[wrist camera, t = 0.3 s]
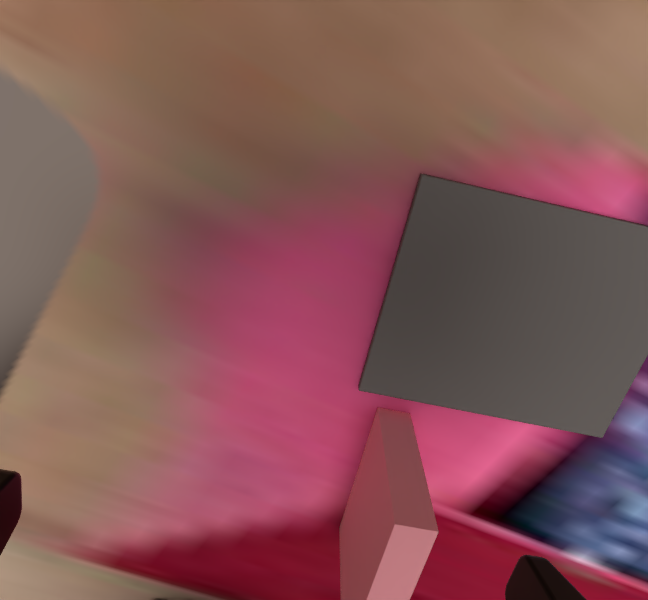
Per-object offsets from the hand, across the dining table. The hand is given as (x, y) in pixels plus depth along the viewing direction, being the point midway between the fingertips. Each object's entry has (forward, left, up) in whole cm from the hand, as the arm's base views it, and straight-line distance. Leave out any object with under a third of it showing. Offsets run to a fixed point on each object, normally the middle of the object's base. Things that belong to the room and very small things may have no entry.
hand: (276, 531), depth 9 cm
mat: (0, -10, -14) cm, 17 cm away
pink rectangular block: (-10, -6, -14) cm, 18 cm away
